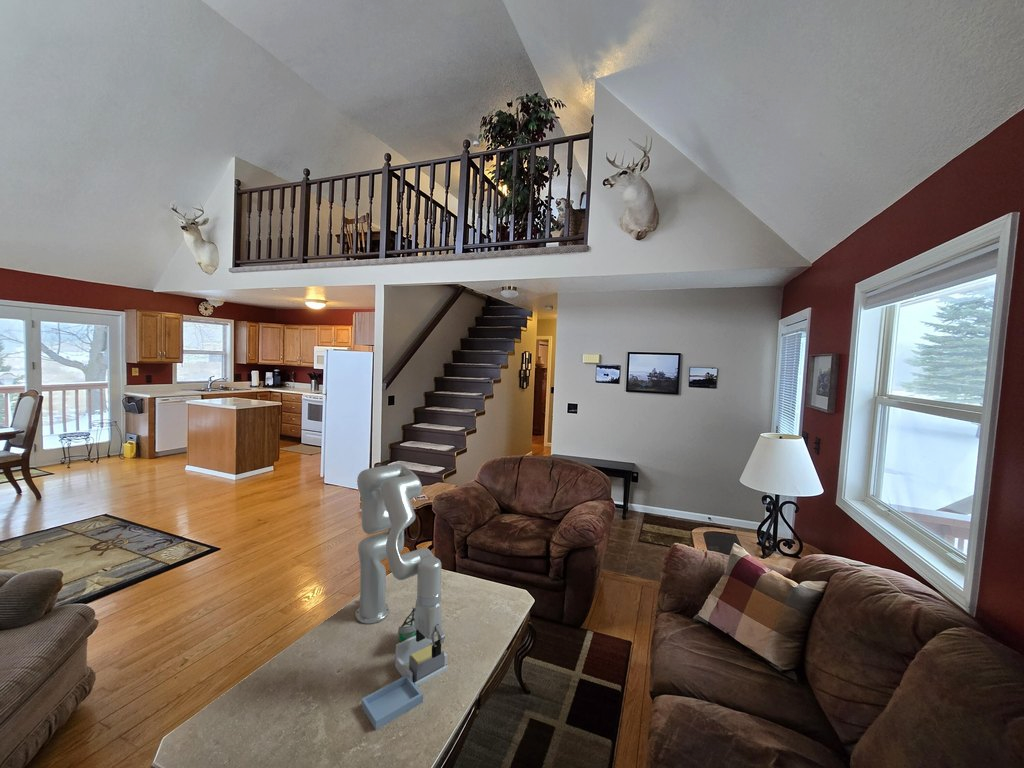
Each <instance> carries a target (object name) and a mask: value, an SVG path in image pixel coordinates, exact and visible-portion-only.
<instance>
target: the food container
mask: <svg viewBox="0 0 1024 768" xmlns="http://www.w3.org/2000/svg"><path fill="white" fill-rule="evenodd" d="M414 611H415V606H413V607H412V610H411V612H410V613H409V614H408V616H407V617H406V618H405V619H404V622H403V623H402V625H401V626H398V630H397V633H398V643H401V642H403V641H405V640H407V639H409V638H411V637H413V636H416V630H417V629H416V628H415V625H414Z"/></svg>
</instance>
